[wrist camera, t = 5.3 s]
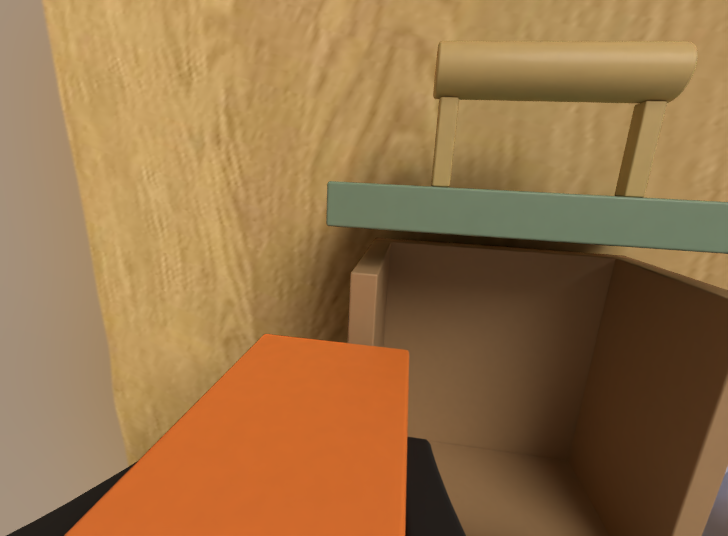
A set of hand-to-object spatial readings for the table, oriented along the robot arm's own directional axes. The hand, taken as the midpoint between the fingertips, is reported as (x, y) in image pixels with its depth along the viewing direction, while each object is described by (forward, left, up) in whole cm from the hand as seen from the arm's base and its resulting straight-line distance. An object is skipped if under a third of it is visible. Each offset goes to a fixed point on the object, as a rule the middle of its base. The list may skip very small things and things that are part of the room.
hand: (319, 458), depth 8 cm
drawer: (-6, 0, -10) cm, 11 cm away
